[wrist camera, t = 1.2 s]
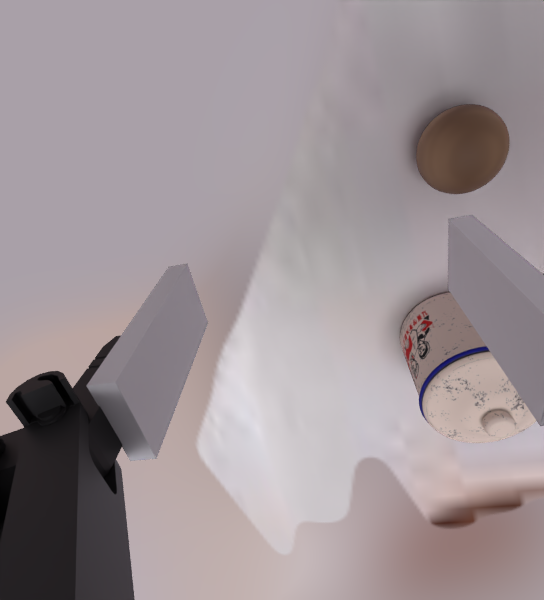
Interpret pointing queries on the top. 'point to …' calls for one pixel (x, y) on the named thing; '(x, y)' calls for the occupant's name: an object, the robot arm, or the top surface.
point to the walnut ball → (462, 149)
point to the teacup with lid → (459, 376)
